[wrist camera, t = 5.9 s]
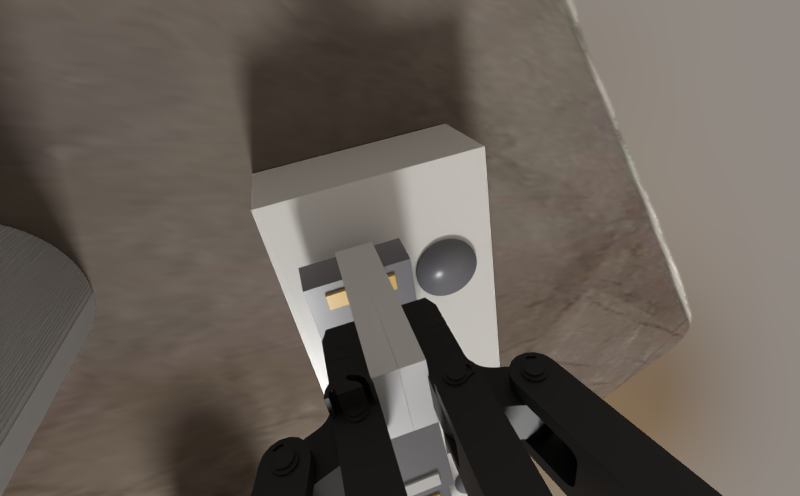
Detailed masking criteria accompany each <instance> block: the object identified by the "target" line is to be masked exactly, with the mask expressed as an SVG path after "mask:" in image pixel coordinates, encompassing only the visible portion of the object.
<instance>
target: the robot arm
mask: <svg viewBox="0 0 800 496" xmlns="http://www.w3.org/2000/svg"><path fill="white" fill-rule="evenodd" d="M335 256H336V259H337V263H338V266H339V269H340V273H341V276H342V280H343V283H344V287H345V290H346V294H347V297H348V301H349V304H350V308H351V311H352V315H353V318H354V321H352V322H349V323H346V324H343V325H340V326H337V327H333V328H330V329H327V330H326V331H325V334H324V337H323V340H322V347H323V353H324V359H325V364H326V370H327V376H328V382H329V384H328V386H327V388H326V390H325V392H324V401H325V403H326V406H327V408H328V411H329V413H330V415H329V417H328V419H327V420H326V422H325V423H324V424H323V425H322V426H321V427H320V428H319V429H318V430H317V431H315V432H314V433H312V434H311V435H310V436H308V437H307V438H305V439H304V440H302V439H300V438H298V437H288V438H285V439H282V440H279V441H278V442H276V443H275V444H273V445H272V446H270V448H269V449H268V450H267V451H266V452H265V453H264V455H263V457H262V459H261V461H260V464H259V466H258V471H257V475H256V479H255V483H254V487H253V491H252V495H251V496H407V492H406V489H405V485H404V482H403V479H402V475H401V472H400V469H399V465H398V462H397V459H396V455H395V452H394V449H393V445H392V442H391V439H393V438H396V437H399V436H401V435H404V434H407V433H409V432H412V431H415V430H418V429H421V428H424V427H426V426H429V425H432V424H434V423H437V422H438V420H439V422H440V424H441V427H442V429H443V434H444V439H445V445H446V450H447V454H449V453H450V454H451V456H452V459H453V461H454V464H455V466H456V468H457V471H458V473H459V476H460V478H461V481H462V483H463V486H464V488H465V490H466V493H467V495H468V496H552V494H551V492H550V490H549V488H548V487H547V485H546V483H545V481H544V480H543V478H542V476H541V475H540V473H539V471H538V469H537V468H536V466H535V464H534V463H533V461H532V459H531V457H532V458H533V459H534V460H535V461H536V462H537V463H538V464H539V466H541V468H542V469H543V470H544V471H545V472H546V473H547V474H548V475H549V476H550V477H551V479H552V480H553V481H554V482H555V483H556V484H557V485H558V486H559V487H560V488H561V490H562V491H563V492H564V493H565V494H566V495H567V496H722V495H721V494H720V493H719V492H717V491H716V490H715V489H714V488H712V487H711V486H710V485H709V484H707V483H706V482H705V481H704V480H702V479H701V478H700V477H699V476H697V475H696V474H695V473H694V472H692V471H691V470H690V469H689V468H687V467H686V466H685V465H684V464H682V463H681V462H680V461H679V460H677V459H676V458H675V457H674V456H672V455H671V454H670V453H669V452H667V451H666V450H665V449H664V448H662V447H661V446H660V445H659V444H657V443H656V442H655V441H654V440H652V439H651V438H650V437H649V436H647V435H646V434H645V433H644V432H642V431H641V430H640V429H639V428H637V427H636V426H635V425H634V424H632V423H631V422H630V421H629V420H627V419H626V418H625V417H624V416H622V415H621V414H620V413H619V412H617V411H616V410H615V409H614V408H612V407H611V406H610V405H609V404H607V403H606V402H605V401H604V400H602V399H601V398H600V397H599V396H597V395H596V394H595V393H594V392H592V391H591V390H590V389H589V388H587V387H586V386H585V385H584V384H583V383H581V382H580V381H579V380H578V379H576V378H575V377H574V376H573V375H571V374H570V373H569V372H568V371H566V370H565V369H564V368H563V367H561V366H560V365H559V364H558V363H556V362H555V361H554V360H553V359H551V358H549V357H547V356H546V355H544V354H539V353H535V352H532V353H524V354H521V355H518V356H517V357H515V358H514V359H513V360H512V361H511V364H510V367H483V366H479V365H477V364H475V363H474V362H472V361H470V360H469V359H468V358H467V357H466V356H465V354H464V353H463V351H462V349H461V347H460V346H459V344H458V342H457V340H456V339H455V337H454V335H453V334H452V332H451V330H450V328H449V327H448V325H447V323H446V321H445V320H444V318H443V317H442V314H441V313H440V311H439V309H438V307H437V306H436V304H434V303H433V302H431V301H430V300H428V299H427V298H422V299H418V300H415V301H412V302H409V303H406V304H403V305H401V304H400V302H399V300H398V297H397V295H396V293H395V291H394V289H393V286H392V284H391V282H390V280H389V278H388V276H387V273H386V271H385V269H384V267H383V265H382V262H381V260H380V258H379V256H378V254H377V251H376V249H375V247H374V245H373V243H372V242H369V243H366V244H362V245H359V246H356V247H352V248H349V249H345V250H342V251H338V252H335ZM437 417H438V420H437ZM413 429H414V430H413ZM529 455H530V456H531V457H530V456H529Z"/></svg>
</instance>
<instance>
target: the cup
mask: <svg viewBox="0 0 800 496" xmlns="http://www.w3.org/2000/svg"><path fill="white" fill-rule="evenodd" d="M95 307H96V303H95V297H94V292H92V287H90V283H89V282H88V280H87V278H86V277H85V275H84V273H83V272H81V269H80V268H78V266H77V265H76V264H75V263H74V262H73V261H72V260H71V259H70V258H69V257H68V256H66V255H65V253H62V252H61V251H60V250H58V249H57V248H56V247H54V246H53V245H52V244H50V243H47V242H45V241H44V240H43V239H40V238H39V237H35V236H34V235H31V234H28V233H27V232H24V231H22V230H19V229H16V228H13V227H9V226H4V225H0V496H2V494H3V492H4V490H5V488H6V486H7V485H8V483H9V481H10V479H11V477H12V475H13V473H14V472H15V470H16V468H17V466H18V464H19V462H20V460H21V459H22V457H23V455H24V453H25V451H26V449H27V447H28V445H29V444H30V442H31V440H32V438H33V436H34V434H35V432H36V431H37V429H38V427H39V425H40V423H41V421H42V419H43V418H44V416H45V414H46V412H47V410H48V408H49V406H50V404H51V403H52V401H53V399H54V397H55V395H56V393H57V391H58V390H59V388H60V386H61V384H62V382H63V380H64V378H65V377H66V375H67V373H68V371H69V369H70V367H71V365H72V363H73V362H74V360H75V358H76V356H77V354H78V352H79V350H80V349H81V347H82V345H83V343H84V341H85V339H86V337H87V336H88V334H89V332H90V330H91V328H92V325H93V322H94V318H95V315H96V313H95V312H96V308H95Z"/></svg>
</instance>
